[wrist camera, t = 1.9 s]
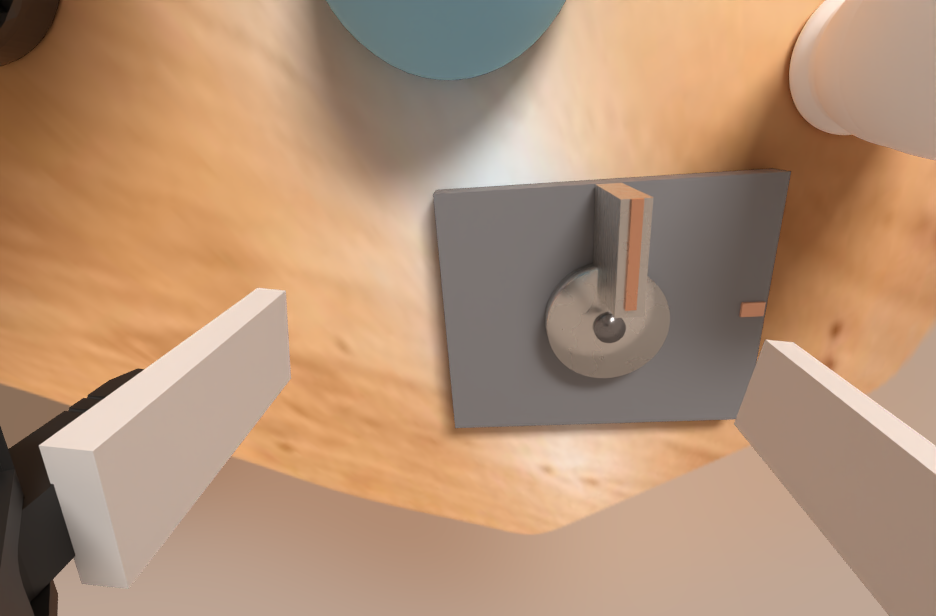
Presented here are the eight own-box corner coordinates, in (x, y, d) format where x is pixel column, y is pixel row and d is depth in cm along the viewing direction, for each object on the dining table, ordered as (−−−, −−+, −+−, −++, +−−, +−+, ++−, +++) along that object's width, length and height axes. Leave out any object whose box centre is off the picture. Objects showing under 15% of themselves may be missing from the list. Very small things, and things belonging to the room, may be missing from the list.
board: (456, 413, 38) (455, 429, 36) (436, 189, 32) (432, 194, 30) (732, 403, 37) (747, 420, 35) (772, 168, 30) (793, 171, 28)
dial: (657, 365, 33) (692, 415, 28) (545, 369, 34) (556, 420, 28) (674, 179, 29) (721, 193, 23) (543, 187, 29) (557, 204, 23)
